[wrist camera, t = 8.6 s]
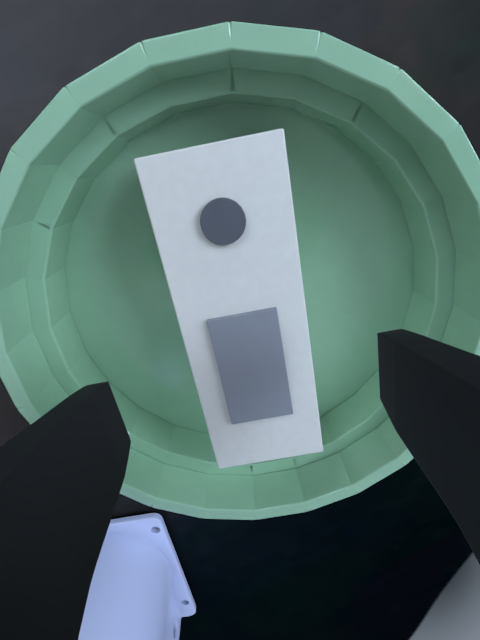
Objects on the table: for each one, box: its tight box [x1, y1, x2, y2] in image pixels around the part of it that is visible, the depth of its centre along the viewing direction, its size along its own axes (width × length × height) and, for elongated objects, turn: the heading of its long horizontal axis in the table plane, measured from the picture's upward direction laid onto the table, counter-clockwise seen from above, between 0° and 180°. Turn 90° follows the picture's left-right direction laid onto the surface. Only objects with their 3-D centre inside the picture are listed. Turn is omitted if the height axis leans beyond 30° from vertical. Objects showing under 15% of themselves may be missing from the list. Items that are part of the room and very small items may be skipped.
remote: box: [134, 128, 323, 469], centre depth 14 cm, size 12×4×4 cm, turn 11°
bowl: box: [0, 21, 480, 520], centre depth 14 cm, size 17×17×4 cm
